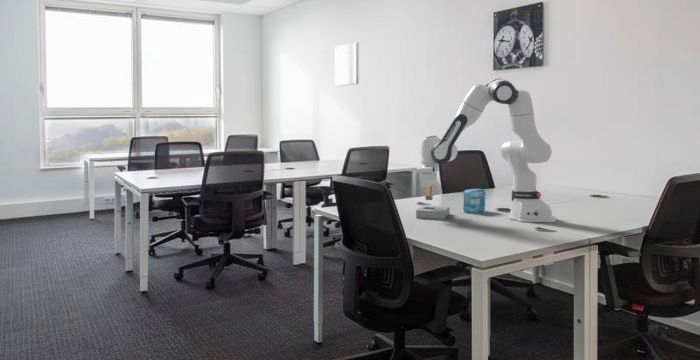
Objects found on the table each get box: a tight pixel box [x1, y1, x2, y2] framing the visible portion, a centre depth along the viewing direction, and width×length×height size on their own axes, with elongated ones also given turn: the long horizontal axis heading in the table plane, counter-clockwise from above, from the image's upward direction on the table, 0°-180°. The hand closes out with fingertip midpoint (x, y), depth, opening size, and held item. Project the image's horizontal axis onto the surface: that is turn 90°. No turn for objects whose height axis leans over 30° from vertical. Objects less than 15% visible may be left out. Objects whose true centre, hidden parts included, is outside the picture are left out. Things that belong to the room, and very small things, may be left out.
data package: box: [462, 188, 486, 214], centre depth 282 cm, size 12×4×12 cm, turn 124°
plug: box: [424, 184, 435, 201], centre depth 270 cm, size 4×4×8 cm
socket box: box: [415, 205, 451, 221], centre depth 271 cm, size 14×16×4 cm
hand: (429, 194), depth 270 cm, fingers closed on plug, 4 cm apart
